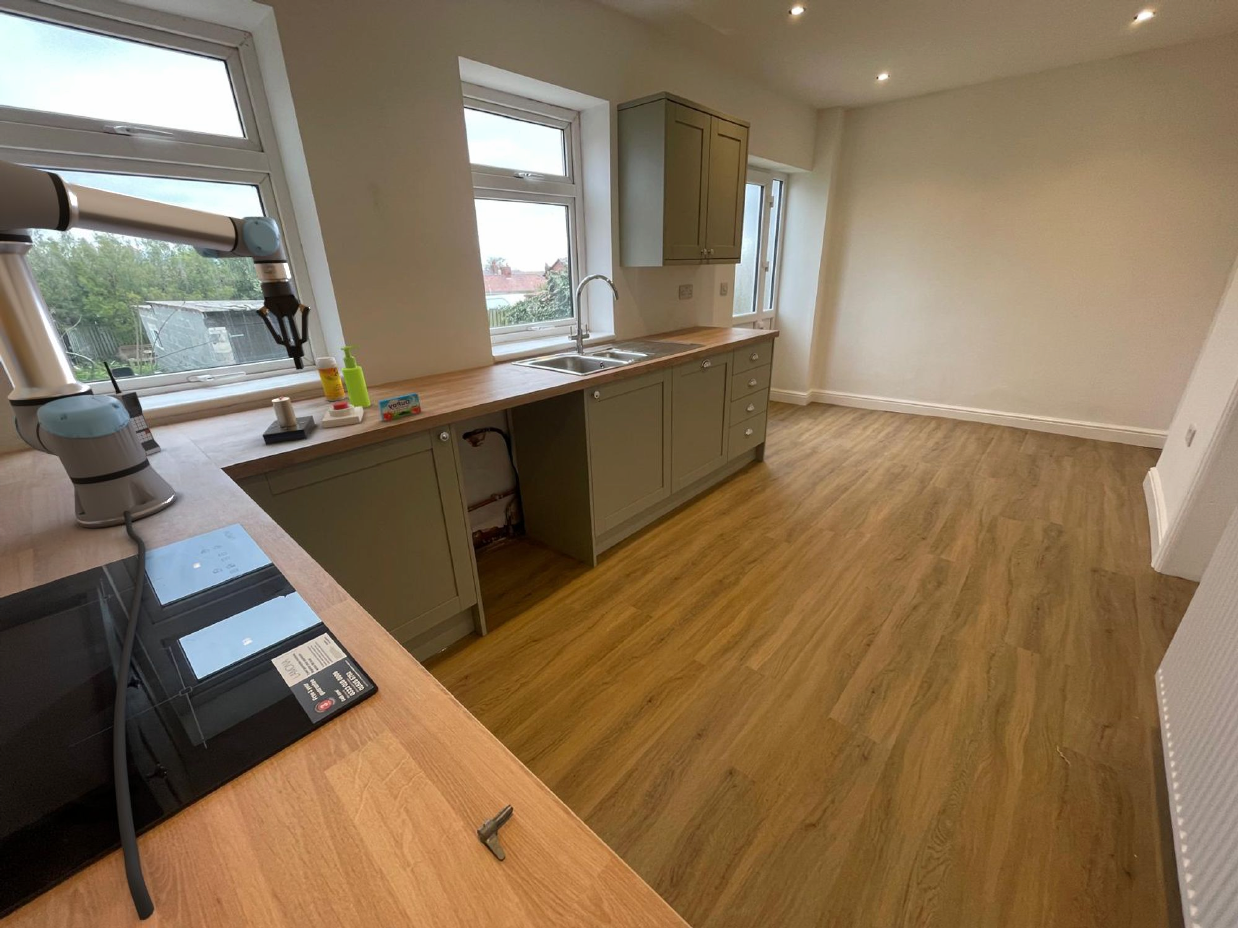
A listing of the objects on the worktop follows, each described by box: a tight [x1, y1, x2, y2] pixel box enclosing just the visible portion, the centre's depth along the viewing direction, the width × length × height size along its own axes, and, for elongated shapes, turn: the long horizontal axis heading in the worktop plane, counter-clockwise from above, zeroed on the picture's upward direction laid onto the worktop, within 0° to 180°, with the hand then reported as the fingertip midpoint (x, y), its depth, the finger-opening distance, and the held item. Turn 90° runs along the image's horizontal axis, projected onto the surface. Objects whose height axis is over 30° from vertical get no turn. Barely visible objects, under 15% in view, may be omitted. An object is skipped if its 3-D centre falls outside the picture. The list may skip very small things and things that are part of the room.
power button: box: [332, 401, 349, 410], centre depth 155 cm, size 4×4×2 cm
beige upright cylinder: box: [271, 396, 297, 427], centre depth 143 cm, size 4×4×8 cm
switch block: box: [321, 404, 364, 429], centre depth 156 cm, size 12×10×4 cm
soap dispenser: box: [340, 345, 372, 409], centre depth 167 cm, size 6×7×20 cm
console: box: [262, 415, 316, 446], centre depth 145 cm, size 14×10×3 cm
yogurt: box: [377, 392, 422, 422], centre depth 156 cm, size 12×2×6 cm, turn 136°
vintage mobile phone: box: [102, 361, 162, 456], centre depth 132 cm, size 4×5×25 cm
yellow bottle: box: [315, 355, 346, 402], centre depth 178 cm, size 6×6×15 cm
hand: (300, 368), depth 143 cm, fingers closed
